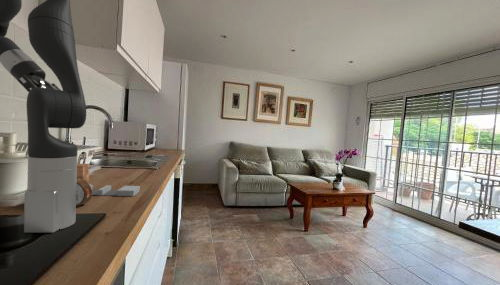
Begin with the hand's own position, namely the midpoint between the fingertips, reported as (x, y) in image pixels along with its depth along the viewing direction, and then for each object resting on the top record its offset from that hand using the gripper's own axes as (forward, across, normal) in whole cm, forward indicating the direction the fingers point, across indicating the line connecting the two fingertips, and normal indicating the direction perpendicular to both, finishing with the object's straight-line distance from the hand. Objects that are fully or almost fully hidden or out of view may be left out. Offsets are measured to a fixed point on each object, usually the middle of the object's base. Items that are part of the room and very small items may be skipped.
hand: (61, 106), depth 78 cm
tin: (+27, -8, +17) cm, 33 cm away
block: (+22, +6, +18) cm, 29 cm away
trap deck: (+30, +6, +13) cm, 33 cm away
